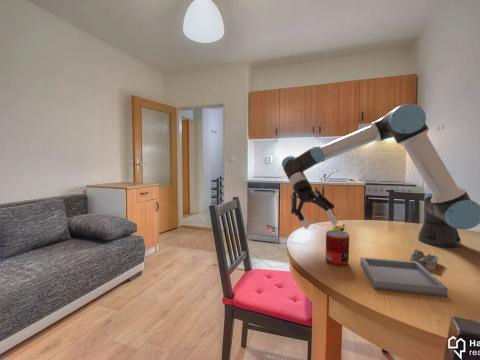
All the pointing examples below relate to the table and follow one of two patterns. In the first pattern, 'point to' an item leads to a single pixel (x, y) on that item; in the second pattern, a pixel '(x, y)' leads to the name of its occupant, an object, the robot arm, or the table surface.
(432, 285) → the tray
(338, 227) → the yellow walkie talkie
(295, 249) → the table surface
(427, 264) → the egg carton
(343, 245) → the canned food
